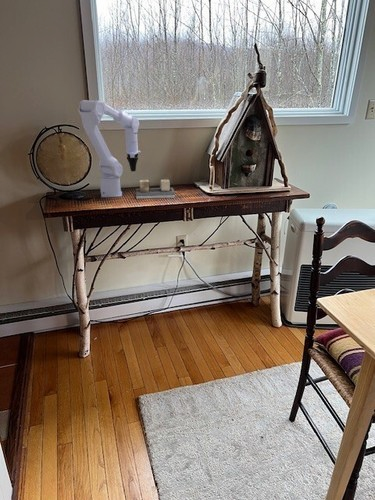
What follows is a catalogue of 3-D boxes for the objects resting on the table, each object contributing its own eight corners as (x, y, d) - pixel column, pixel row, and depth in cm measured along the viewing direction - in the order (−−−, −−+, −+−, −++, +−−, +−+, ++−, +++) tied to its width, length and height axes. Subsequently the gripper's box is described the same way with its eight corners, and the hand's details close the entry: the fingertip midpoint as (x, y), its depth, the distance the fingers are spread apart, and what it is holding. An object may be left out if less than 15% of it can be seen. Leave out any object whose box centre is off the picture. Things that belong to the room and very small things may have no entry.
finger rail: (136, 198, 169) (135, 183, 166) (136, 193, 177) (135, 179, 174) (174, 197, 171) (174, 182, 168) (172, 192, 180) (172, 178, 177)
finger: (140, 194, 171) (140, 182, 169) (140, 192, 175) (139, 180, 172) (149, 194, 172) (149, 181, 169) (149, 192, 175) (149, 179, 173)
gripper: (140, 144, 172) (141, 172, 177) (139, 139, 185) (141, 166, 190) (125, 144, 171) (126, 172, 176) (125, 140, 184) (127, 166, 190)
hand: (133, 169), depth 183 cm, fingers open, 7 cm apart
